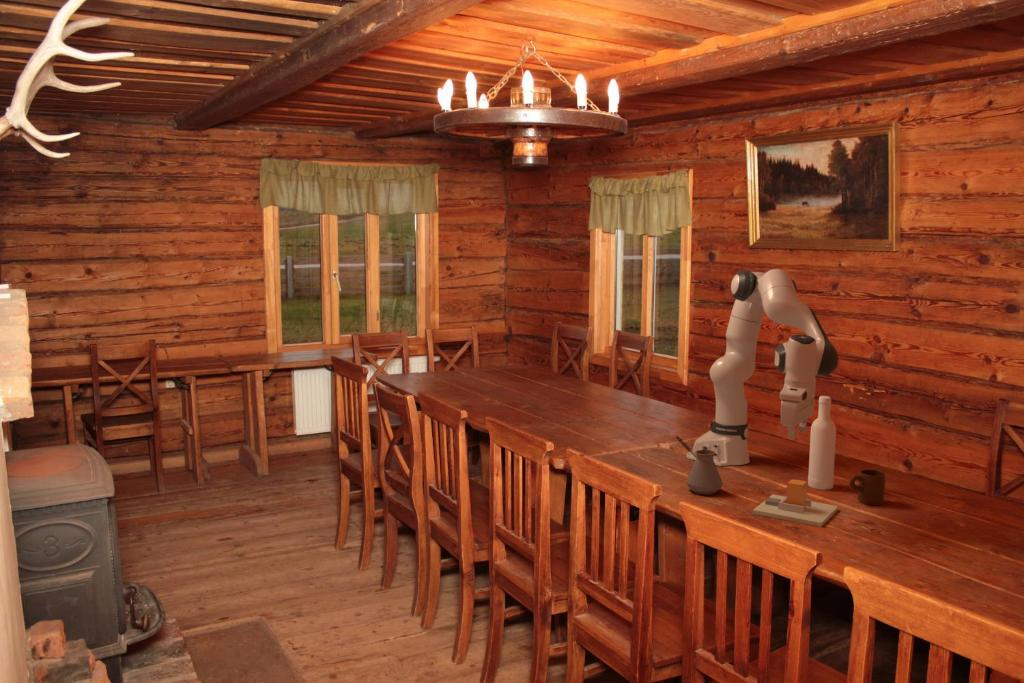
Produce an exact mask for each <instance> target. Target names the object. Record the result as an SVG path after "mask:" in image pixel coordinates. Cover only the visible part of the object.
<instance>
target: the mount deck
mask: <svg viewBox="0 0 1024 683" xmlns="http://www.w3.org/2000/svg"><path fill="white" fill-rule="evenodd" d="M752 510H753V511H752V514H753V515H756V516H757V515H758V516H763V517H768V518H774V519H778V520H783V521H788V522H793V523H794V522H795V523H800V524H805V525H809V526H813V527H815V526H816V527H820V528H822V527H823V526H824V525H825V524H826V523H827V522H828V521H829V520H830V519H831V518H832V517H833V516H834V515H835V513H837V511H839V506H838V505H835V504H829V503H822V502H817V501H812V500H811V499H808V498H806V508H805V509H804V506H798V505H793V504H787V495H786V496H783V495H778V494H771V495H769V497H767V498H766V499H765V500H764V501H763V502H761V503H760V504H759V505H757V506H756V507H755V508H754V509H752Z"/></svg>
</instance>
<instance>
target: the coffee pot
mask: <svg viewBox="0 0 1024 683" xmlns="http://www.w3.org/2000/svg"><path fill="white" fill-rule="evenodd" d="M675 438H676V440H675ZM672 441H674V442H676V441H678V443H680V444H681V445H682V447H683V448H685V449H686V450H687V451H688V452H691V454H692V455H693V456H694V457H695V458H696V460H694V464H693V466H692V468H691V470H690V472H689V474H688V476H687V478H686V479H685V480H686V485H687V487H688V489H690V490H691V491H692V492H693V493H695V494H699V495H713V494H716V493H717V492H718V491H719V490H721V488H722V487H723V481H722V478H721V475H720V473H719V471H718V467H717V465H715V462H714V460H713V458H714V455H715V452H714V451H710V450H697V451H695V453H694V452H693V451H692V450H693V449H691V447H690V446H689V445H688V444H687V443H686V442H685V441H684V440H683V439H682V438H680V436H678V435H675V436H674V437H673V440H672Z"/></svg>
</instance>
